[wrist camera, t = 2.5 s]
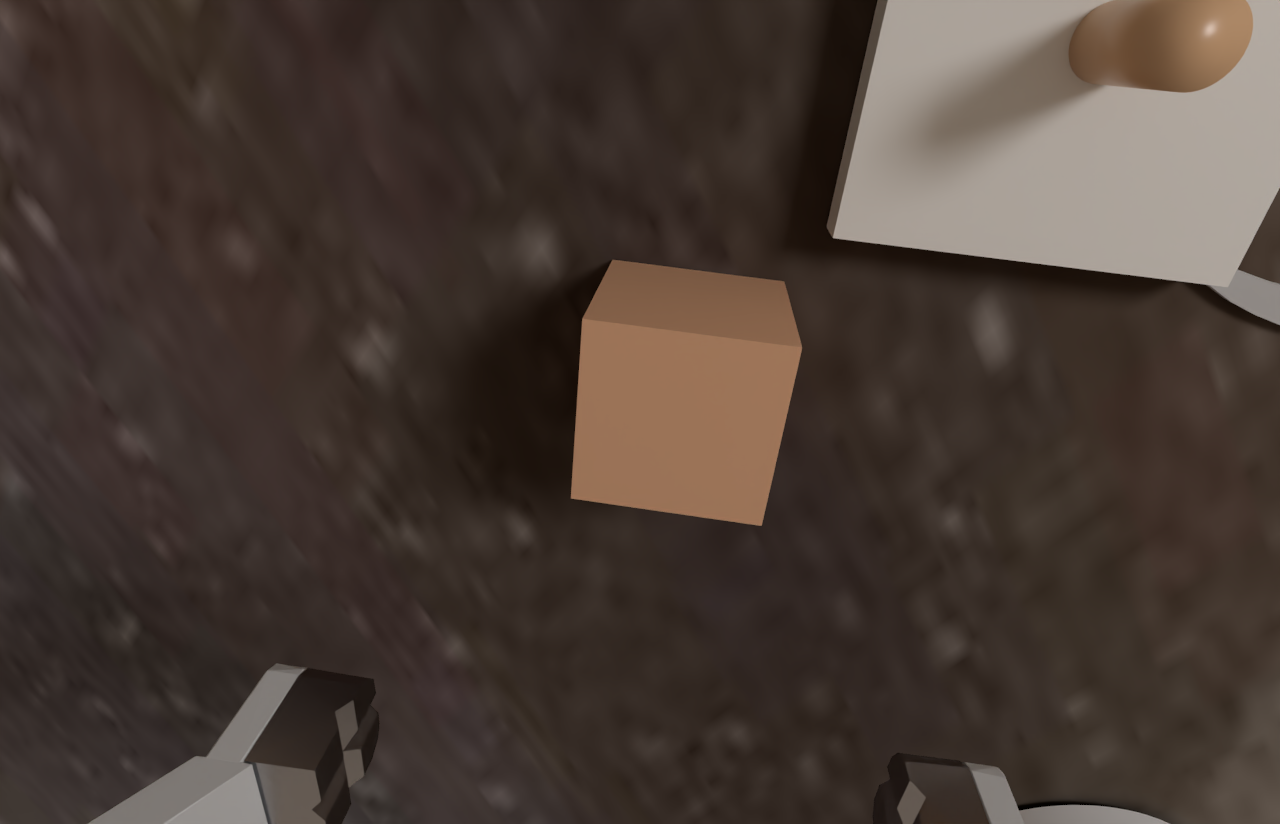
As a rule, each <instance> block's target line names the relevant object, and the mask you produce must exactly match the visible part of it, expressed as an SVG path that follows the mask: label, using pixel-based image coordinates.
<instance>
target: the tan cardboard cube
mask: <svg viewBox="0 0 1280 824" xmlns="http://www.w3.org/2000/svg"><path fill="white" fill-rule="evenodd" d="M801 350H802V345H801V342H800V338H799V334H798V331H797V327H796V323H795V319H794V316H793V312H792V308H791V305H790V301H789V297H788V294H787V290H786V286H785V282H784V281H776V280H768V279H760V278H753V277H745V276H737V275H729V274H721V273H713V272H706V271H698V270H690V269H682V268H674V267H666V266H659V265H651V264H643V263H635V262H627V261H619V260H612V262H611V264H610V266H609V268H608V270H607V271H606V273H605V275H604V277H603V279H602V281H601V283H600V285H599V287H598V289H597V291H596V293H595V295H594V297H593V299H592V301H591V303H590V305H589V307H588V309H587V311H586V313H585V315H584V316H583V318H582V332H581V347H580V363H579V379H578V394H577V410H576V426H575V441H574V457H573V472H572V488H571V499H578V500H585V501H592V502H599V503H606V504H613V505H620V506H627V507H634V508H641V509H648V510H655V511H662V512H669V513H676V514H683V515H690V516H697V517H704V518H711V519H718V520H725V521H732V522H739V523H746V524H753V525H760V526H762V522H763V517H764V513H765V509H766V504H767V500H768V495H769V491H770V487H771V482H772V478H773V473H774V469H775V465H776V460H777V456H778V452H779V447H780V443H781V438H782V434H783V430H784V425H785V421H786V416H787V412H788V408H789V403H790V399H791V394H792V390H793V386H794V381H795V377H796V372H797V368H798V364H799V359H800V355H801Z"/></svg>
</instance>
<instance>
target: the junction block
mask: <svg viewBox="0 0 1280 824" xmlns="http://www.w3.org/2000/svg"><path fill="white" fill-rule="evenodd" d="M1279 188H1280V0H877V5H876V9H875V14H874V18H873V22H872V27H871V31H870V36H869V40H868V45H867V49H866V53H865V58H864V62H863V67H862V71H861V76H860V80H859V85H858V89H857V93H856V98H855V102H854V107H853V111H852V116H851V120H850V124H849V129H848V133H847V138H846V142H845V147H844V151H843V156H842V160H841V164H840V169H839V173H838V178H837V182H836V187H835V191H834V195H833V200H832V204H831V209H830V213H829V218H828V222H827V229H828V231H829V233H830V234H831V236H832V238H836V239H844V240H852V241H860V242H868V243H876V244H884V245H892V246H900V247H908V248H916V249H924V250H932V251H940V252H948V253H956V254H964V255H972V256H980V257H988V258H996V259H1004V260H1012V261H1020V262H1029V263H1037V264H1045V265H1053V266H1061V267H1069V268H1077V269H1085V270H1093V271H1101V272H1109V273H1117V274H1125V275H1133V276H1141V277H1149V278H1157V279H1165V280H1173V281H1181V282H1189V283H1197V284H1205V285H1213V286H1221V287H1228V286H1229V284H1230V282H1231V280H1232V278H1233V276H1234V275H1235V273H1236V271H1237V269H1238V267H1239V265H1240V263H1241V261H1242V259H1243V257H1244V255H1245V253H1246V251H1247V249H1248V248H1249V246H1250V244H1251V242H1252V240H1253V238H1254V236H1255V234H1256V232H1257V230H1258V228H1259V226H1260V224H1261V222H1262V221H1263V219H1264V217H1265V215H1266V213H1267V211H1268V209H1269V207H1270V205H1271V203H1272V201H1273V199H1274V197H1275V195H1276V194H1277V192H1278V190H1279Z"/></svg>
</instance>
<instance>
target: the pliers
mask: <svg viewBox="0 0 1280 824" xmlns="http://www.w3.org/2000/svg"><path fill="white" fill-rule="evenodd" d="M1207 286H1208V287H1210V288H1211V289H1212V290H1213V291H1215V292H1216V293H1217V294H1219V295H1220V296H1221V297H1223V298H1224V299H1226V300H1228V301H1229V302H1231V303H1233V304H1235V305H1237V306H1239V307H1241V308H1242V309H1244V310H1246V311H1248V312H1250V313H1252V314H1254V315H1256V316H1259V317H1261V318H1264V319H1266V320H1269V321H1271V322H1273V323H1276V324H1278V325H1280V284H1278V283H1274V282H1270V281H1267V280H1264V279H1262V278H1259V277H1256V276H1253V275H1250V274H1248V273H1245V272H1243V271H1240V270H1237V271H1236V273H1235V275H1234V276H1233V278H1232V280H1231V282H1230V284H1229V286H1228V287H1221V286H1213V285H1207Z"/></svg>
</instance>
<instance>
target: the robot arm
mask: <svg viewBox="0 0 1280 824" xmlns="http://www.w3.org/2000/svg"><path fill="white" fill-rule="evenodd" d="M375 694H376V691H375V685H374V679H370V678H364V677H358V676H352V675H346V674H340V673H334V672H328V671H322V670H316V669H310V668H305V667H298V666H292V665H285V664H278V663H276V664H275V665H274V666H273V667H271V668H270V669H269V670H268V671H266V672H265V674H264V675H263V676H262V678H261V679H260V681H259V682H258V683H257V685H256V686H255V688H254V689H253V691H252V692H251V693H250V695H249V696H248V698H247V699H246V701H245V702H244V703H243V705H242V706H241V708H240V709H239V710H238V712H237V713H236V715H235V716H234V718H233V719H232V720H231V722H230V723H229V725H228V726H227V728H226V729H225V730H224V732H223V733H222V735H221V736H220V737H219V739H218V740H217V742H216V743H215V745H214V746H213V747H212V749H211V750H210V752H209V753H208V755H207V756H206V757H203V756H195V757H193V758H192V759H190V760H189V761H187V762H185V763H184V764H182V765H181V766H179V767H177V768H176V769H174V770H173V771H171V772H169V773H168V774H166V775H165V776H163V777H161V778H160V779H158V780H157V781H155V782H153V783H152V784H150V785H149V786H147V787H145V788H144V789H142V790H141V791H139V792H137V793H136V794H134V795H133V796H131V797H129V798H128V799H126V800H125V801H123V802H121V803H120V804H118V805H117V806H115V807H113V808H112V809H110V810H109V811H107V812H105V813H104V814H102V815H101V816H99V817H97V818H96V819H94V820H93V821H91V822H89V823H88V824H342V822H343V820H344V818H345V816H346V814H347V811H348V809H349V807H350V805H351V799H350V793H349V787H350V786H351V785H352V784H354V783H355V782H356V781H358V780H359V779H360V778H362V777H363V776H364V775H365V773H366V771H367V768H368V766H369V764H370V762H371V760H372V757H373V754H374V750H375V747H376V743H377V740H378V733H379V714H378V712H377V711H376V710H375V709H374V708H373V707H372V706H371V702H372V700H373V698H374V696H375ZM887 768H888V772H889V777H890V779H889V780H888V781H886V782H884V783H882V784H880V785H879V787H878V790H877V793H876V796H875V798H874V806H873V824H1169V823H1167V822H1165V821H1162V820H1160V819H1157V818H1155V817H1152V816H1149V815H1145V814H1142V813H1138V812H1134V811H1130V810H1125V809H1119V808H1113V807H1105V806H1093V805H1058V806H1047V807H1038V808H1032V809H1025V810H1020V811H1019V809H1018V807H1017V804H1016V802H1015V800H1014V797H1013V795H1012V792H1011V790H1010V787H1009V785H1008V782H1007V780H1006V778H1005V775H1004V774H1003V773H1002V771H1001V770H1000V769H999V768H998V767H994V766H989V765H981V764H973V763H965V762H961V761H959V760H951V759H943V758H935V757H927V756H919V755H911V754H903V753H896V754H895V755H893V756H892V758H891V760H890V762H889V764H888V766H887Z"/></svg>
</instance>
